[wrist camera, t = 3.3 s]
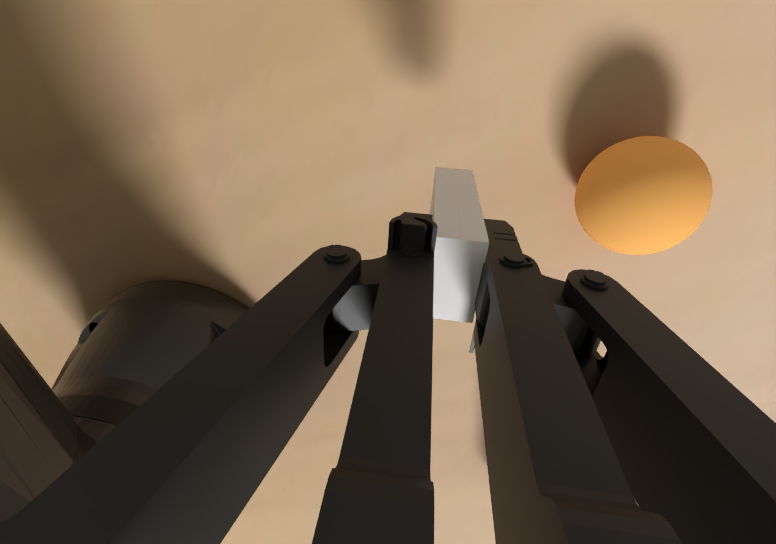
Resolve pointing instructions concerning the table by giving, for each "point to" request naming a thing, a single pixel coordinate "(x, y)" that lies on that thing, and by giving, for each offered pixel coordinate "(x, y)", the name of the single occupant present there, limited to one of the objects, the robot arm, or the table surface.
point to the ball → (643, 195)
